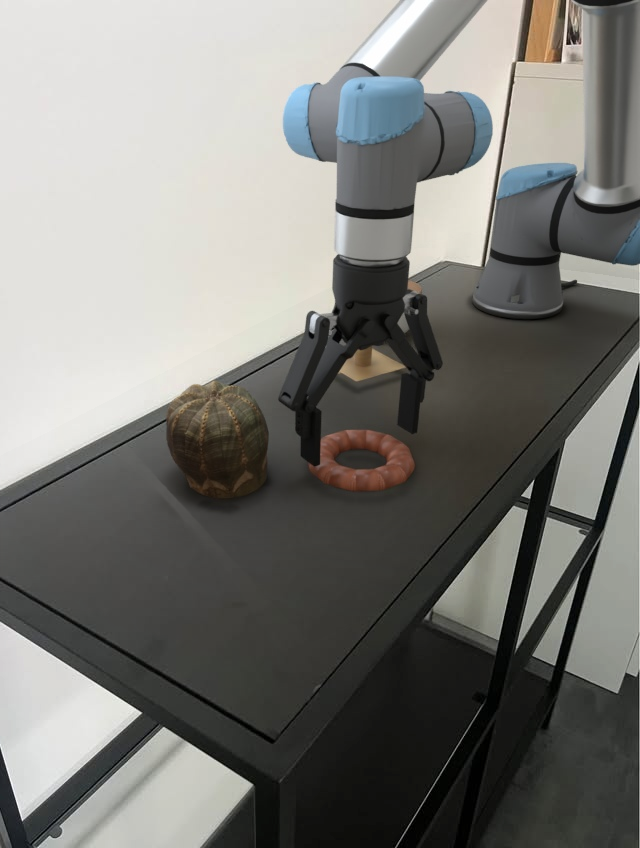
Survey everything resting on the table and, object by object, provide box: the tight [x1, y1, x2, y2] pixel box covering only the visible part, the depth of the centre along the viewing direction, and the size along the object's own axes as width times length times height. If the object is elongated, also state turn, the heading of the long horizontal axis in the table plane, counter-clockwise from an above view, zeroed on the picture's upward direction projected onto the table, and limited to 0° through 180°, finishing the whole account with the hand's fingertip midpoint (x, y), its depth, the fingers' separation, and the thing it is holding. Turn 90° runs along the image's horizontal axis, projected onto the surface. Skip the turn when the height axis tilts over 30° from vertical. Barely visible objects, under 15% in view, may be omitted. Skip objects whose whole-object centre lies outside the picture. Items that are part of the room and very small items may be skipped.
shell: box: [165, 380, 270, 499], centre depth 83 cm, size 11×11×12 cm
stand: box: [337, 346, 408, 382], centre depth 108 cm, size 9×9×14 cm
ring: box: [307, 429, 416, 492], centre depth 88 cm, size 12×12×3 cm
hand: (360, 444), depth 86 cm, fingers open, 13 cm apart
